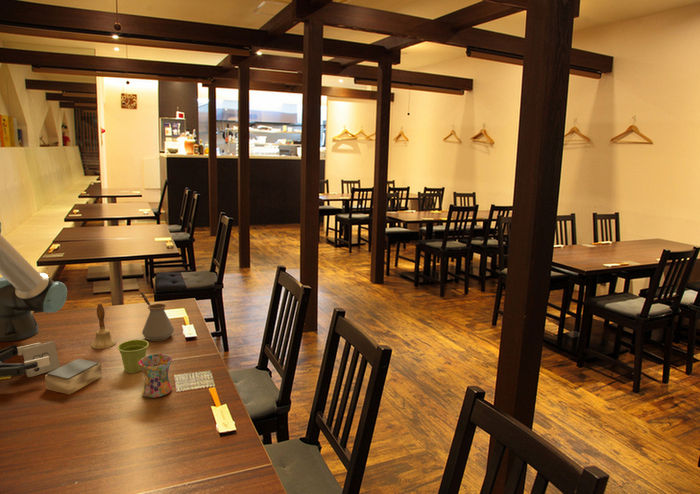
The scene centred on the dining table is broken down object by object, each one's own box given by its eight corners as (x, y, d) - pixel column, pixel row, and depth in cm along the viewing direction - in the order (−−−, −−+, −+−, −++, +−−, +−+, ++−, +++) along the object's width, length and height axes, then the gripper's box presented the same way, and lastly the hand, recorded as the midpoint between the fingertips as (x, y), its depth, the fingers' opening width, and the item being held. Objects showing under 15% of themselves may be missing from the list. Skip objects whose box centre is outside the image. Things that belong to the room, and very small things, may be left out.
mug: (177, 394, 142) (175, 362, 139) (144, 403, 136) (142, 370, 134) (166, 378, 151) (164, 348, 149) (135, 386, 146) (133, 354, 143)
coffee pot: (179, 338, 183) (177, 301, 180) (149, 346, 175) (147, 307, 172) (156, 322, 198) (154, 289, 195) (128, 329, 190) (126, 294, 187)
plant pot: (152, 362, 162) (150, 338, 160) (147, 374, 153) (146, 350, 151) (122, 364, 160) (121, 340, 158) (116, 377, 151) (114, 352, 149)
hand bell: (100, 350, 170) (96, 309, 166) (86, 345, 174) (82, 304, 170) (120, 343, 177) (118, 303, 173) (107, 338, 181) (104, 298, 177)
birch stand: (79, 372, 153) (78, 357, 152) (101, 376, 151) (100, 362, 150) (46, 389, 142) (44, 373, 141) (69, 394, 140) (67, 379, 139)
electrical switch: (28, 378, 148) (24, 350, 147) (22, 375, 151) (18, 347, 150) (60, 369, 155) (57, 342, 154) (54, 365, 159) (51, 339, 157)
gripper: (-40, 368, 149) (39, 351, 163) (-34, 400, 131) (54, 378, 145) (-43, 346, 147) (36, 330, 161) (-38, 376, 129) (51, 355, 143)
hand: (45, 353), depth 153 cm, fingers open, 13 cm apart
